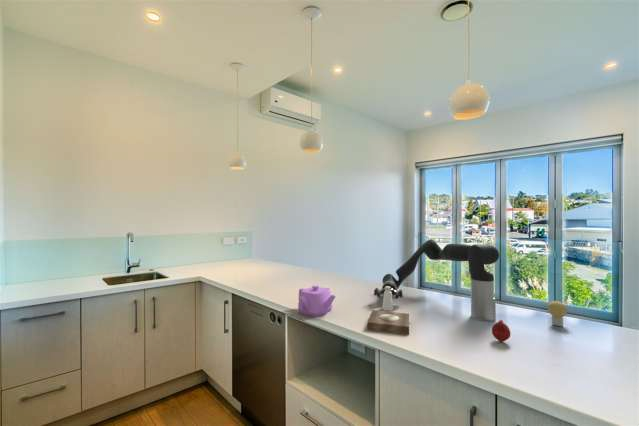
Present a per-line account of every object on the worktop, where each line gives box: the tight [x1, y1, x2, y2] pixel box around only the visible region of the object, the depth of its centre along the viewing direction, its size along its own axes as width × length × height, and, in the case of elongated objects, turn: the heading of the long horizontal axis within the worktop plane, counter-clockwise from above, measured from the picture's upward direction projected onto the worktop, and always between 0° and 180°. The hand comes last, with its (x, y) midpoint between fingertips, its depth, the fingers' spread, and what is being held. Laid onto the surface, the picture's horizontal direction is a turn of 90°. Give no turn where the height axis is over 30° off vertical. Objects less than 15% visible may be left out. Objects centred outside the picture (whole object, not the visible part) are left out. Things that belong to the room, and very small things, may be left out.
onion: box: [491, 319, 511, 343], centre depth 104 cm, size 6×6×8 cm
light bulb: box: [547, 300, 568, 327], centre depth 121 cm, size 6×6×10 cm
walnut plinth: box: [367, 309, 410, 335], centre depth 121 cm, size 16×16×3 cm
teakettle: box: [297, 285, 336, 318], centre depth 138 cm, size 17×17×12 cm
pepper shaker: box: [382, 286, 394, 312], centre depth 142 cm, size 5×5×11 cm
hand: (387, 296), depth 142 cm, fingers open, 8 cm apart
